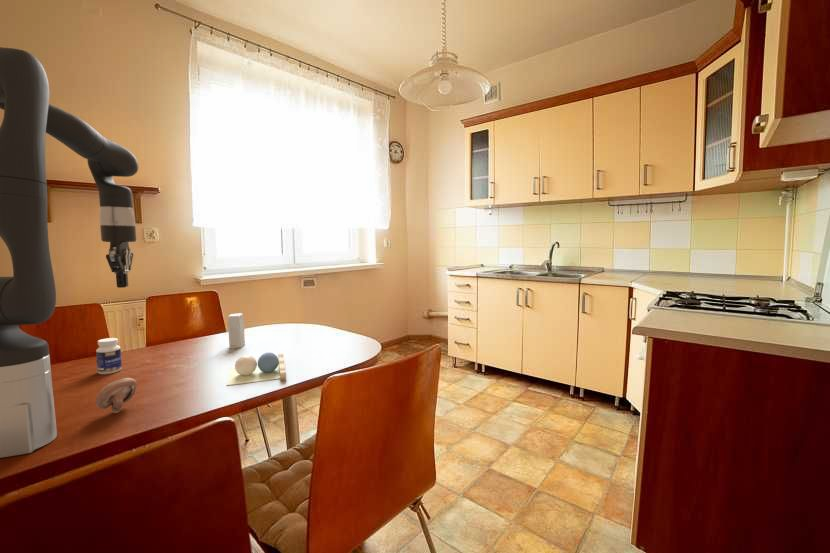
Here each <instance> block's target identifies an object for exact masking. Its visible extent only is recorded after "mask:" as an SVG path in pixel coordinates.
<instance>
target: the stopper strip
mask: <svg viewBox="0 0 830 553" xmlns="http://www.w3.org/2000/svg"><path fill="white" fill-rule="evenodd" d="M277 357H278V360H279V372H280V379H279V380H280V382H284V380H286V381H287V374H286V366H285V358H284V354H283V353H279V354H277Z"/></svg>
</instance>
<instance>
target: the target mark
mask: <svg viewBox="0 0 830 553" xmlns="http://www.w3.org/2000/svg"><path fill="white" fill-rule="evenodd" d="M274 379H275V380H280V372H279V364H278V366H277V368H276V369H275V370H274V371H272V372H269V373H265V372H262V371H261V370H260V369H259V367H258V364H257V367H256V370H255V371H254V372H253V373H252V374H250V375H247V376H243V375H240V374H238V373H237V372H236V370H235V367H232V368H230V370H229V374H228V378H227V382H226V386H227V387H229V386H235V385H236V386H237V385H243V384H251V382H252V383H259V382H264V381H265V382H266V381H275V380H274Z"/></svg>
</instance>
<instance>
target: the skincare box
mask: <svg viewBox="0 0 830 553" xmlns="http://www.w3.org/2000/svg"><path fill="white" fill-rule="evenodd" d="M227 327H228V328H227V329H228V343H229V349H240V348H242V347H243V346H244V345H245V343H246V338H245V322H244V312H243V313H242V312H240V313H239V312H238V313H235V312H234V313H231V314H228V316H227Z"/></svg>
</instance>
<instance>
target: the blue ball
mask: <svg viewBox="0 0 830 553" xmlns="http://www.w3.org/2000/svg"><path fill="white" fill-rule="evenodd" d="M278 364H279V360H278V355H276V354H275V353H273V352H265V353H263V354H261V355H260V356H259V357H258V359H257V365H258V367H259V369H260V370H261V371H262V372H265V373H269V372H272V371H274V370H275V369H276V368H277V366H278Z"/></svg>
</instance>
